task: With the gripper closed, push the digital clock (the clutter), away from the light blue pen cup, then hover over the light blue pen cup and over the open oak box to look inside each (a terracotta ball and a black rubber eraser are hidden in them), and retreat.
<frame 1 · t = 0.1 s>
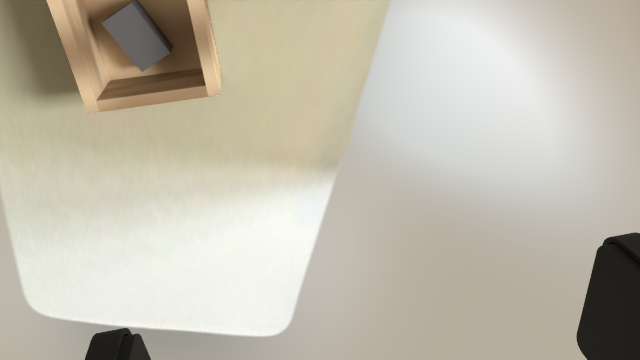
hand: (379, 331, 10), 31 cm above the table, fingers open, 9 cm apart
oak box: (147, 22, 35), on the table, touching eraser
eraser: (141, 32, 35), point 1 cm above the table, touching oak box
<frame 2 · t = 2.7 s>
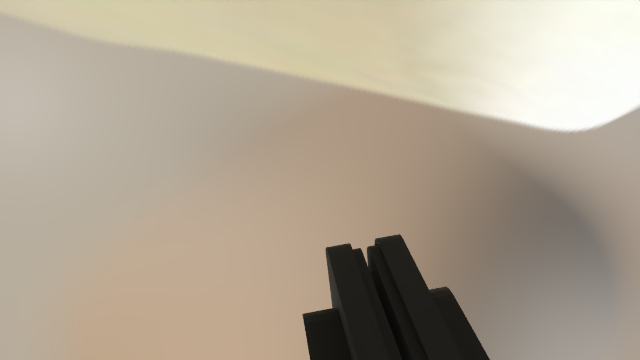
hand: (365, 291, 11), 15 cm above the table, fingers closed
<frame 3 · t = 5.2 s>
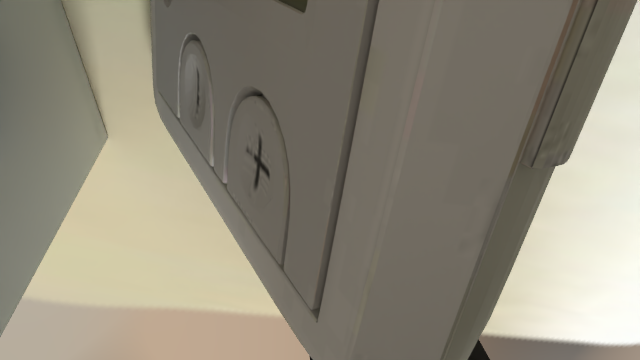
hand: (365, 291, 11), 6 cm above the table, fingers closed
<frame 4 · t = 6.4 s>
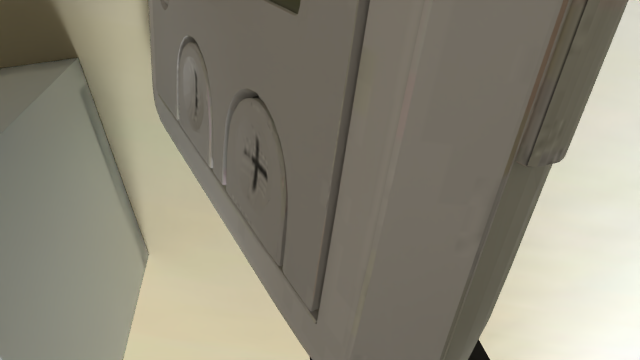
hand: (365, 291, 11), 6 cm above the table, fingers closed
light blue pen cup: (1, 186, 15), on the table, touching ball
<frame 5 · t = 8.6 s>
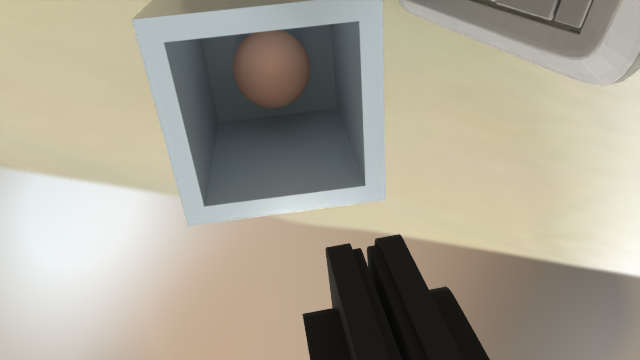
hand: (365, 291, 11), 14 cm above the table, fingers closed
ball: (271, 68, 20), point 2 cm above the table, touching light blue pen cup
light blue pen cup: (269, 52, 22), on the table, touching ball
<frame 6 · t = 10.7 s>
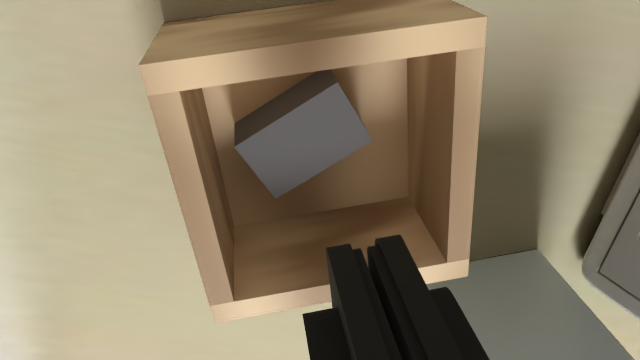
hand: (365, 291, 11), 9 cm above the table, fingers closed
oak box: (310, 124, 19), on the table, touching eraser
eraser: (298, 120, 18), point 1 cm above the table, touching oak box
light blue pen cup: (466, 312, 25), on the table, touching ball
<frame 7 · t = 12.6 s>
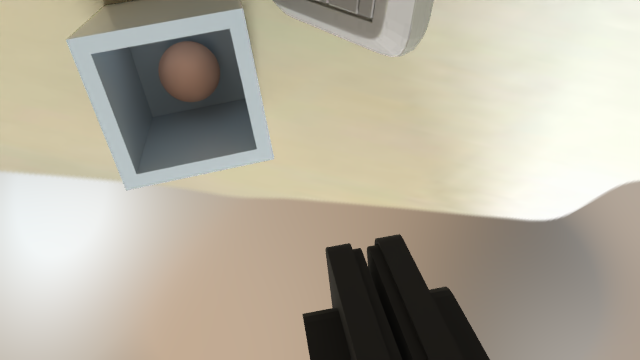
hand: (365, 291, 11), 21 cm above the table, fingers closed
ball: (189, 72, 26), point 2 cm above the table, tilted 8°, touching light blue pen cup
light blue pen cup: (188, 57, 28), on the table, touching ball
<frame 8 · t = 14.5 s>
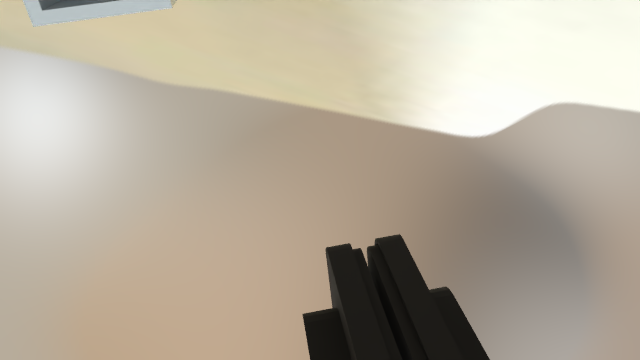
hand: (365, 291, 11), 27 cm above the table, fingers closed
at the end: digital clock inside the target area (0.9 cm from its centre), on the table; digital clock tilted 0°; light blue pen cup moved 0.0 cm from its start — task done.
